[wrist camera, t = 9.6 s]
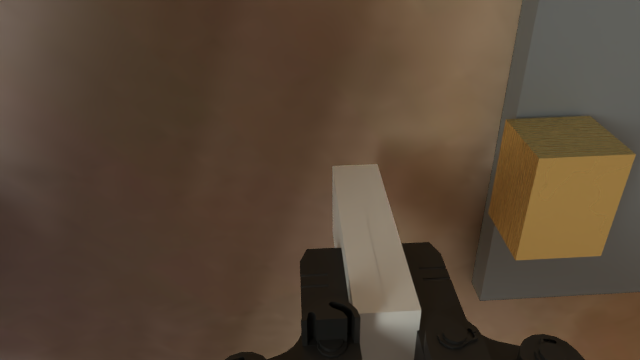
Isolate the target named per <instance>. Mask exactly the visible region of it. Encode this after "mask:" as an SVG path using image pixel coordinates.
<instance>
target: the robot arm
mask: <svg viewBox="0 0 640 360" xmlns="http://www.w3.org/2000/svg"><path fill="white" fill-rule="evenodd" d="M332 211H333V239H334V247H335V248H322V249H307V250H306V252H305V253H304V255H303V257H302V259H301V261H300V276H301V307H302V319H301V328H302V333H301V336H300V338H299V340H298V342H297V343H296V344H295V345H294V347H292V348H291V349H290V350H288V351H287V352H285V353H283V354H281V355H278V356H276V357H273V358H270V359H266V358H264V357H263V356H262V355H259V354H256V353H253V352H240V353H237V354H234V355H231V356H229V357H228V358H226V359H225V360H585V359H584V358H583V357H582V356H581V355H580V354H579V353H578V352H577V350H575V349H574V348H573V347H572V346H571V345H569V344H568V343H567V342H565V341H563V340H561V339H559V338H557V337H555V336H550V335H545V334H540V335H532V336H530V337H528V338H526V339H524V341H523V342H522V344H521V346H517V345H512V344H507V343H503V342H498V341H495V340H492V339H489V338H487V337H485V336H483V335H481V333H480V332H479V330H478V329H477V328H476V327H475V326H474V325H472V324H471V323H470V322H468V321H467V319H466V317H465V315H464V312H463V310H462V307H461V305H460V302H459V299H458V297H457V294H456V292H455V289H454V287H453V284H452V282H451V280H450V277H449V274H448V271H447V269H446V266H445V264H444V261H443V259H442V256H441V254H440V253H439V252H438V251H437V250H436V249H435V248H434V247H433V246H432V245H431V244H430V243H429V242H423V243H402V244H401V241H400V237H399V234H398V231H397V227H396V224H395V221H394V217H393V214H392V211H391V207H390V204H389V201H388V197H387V194H386V191H385V187H384V184H383V181H382V177H381V174H380V171H379V167H378V164H365V165H341V166H332Z"/></svg>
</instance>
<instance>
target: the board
mask: <svg viewBox="0 0 640 360" xmlns="http://www.w3.org/2000/svg"><path fill="white" fill-rule="evenodd" d="M573 116H591V117H592V118H593V119H594V120H596V121H597V122H598V123H599V124H600V125H602V126H603V127H604V128H605V129H606V130H608V131H609V132H610V133H611V134H612V135H614V136H615V137H616V138H617V139H618V140H620V141H621V142H622V143H623V144H624V145H626V146H627V147H628V148H629V149H630V150H632V151H633V152H634V153H635V154H636V156H635V159H634V161H633V164H632V167H631V170H630V173H629V176H628V179H627V182H626V185H625V188H624V191H623V193H622V196H621V199H620V202H619V205H618V208H617V211H616V214H615V217H614V220H613V223H612V225H611V228H610V231H609V234H608V237H607V240H606V243H605V246H604V249H603V252H602V255H601V256H591V257H572V258H553V259H534V260H515V259H514V257H513V255H512V254H511V252H510V250H509V248H508V247H507V245H506V243H505V242H504V240H503V238H502V236H501V235H500V233H499V231H498V229H497V228H496V226H495V224H494V222H493V221H492V219H491V217H490V216H489V214H488V212H489V206H490V201H491V195H492V190H493V185H494V179H495V174H496V169H497V163H498V158H499V152H500V147H501V142H502V136H503V131H504V126H505V120H506V119H524V118H548V117H573ZM472 284H473V286H474V289H475V291H476V293H477V295H478V298H479V300H480V301H486V300H504V299H522V298H540V297H558V296H576V295H594V294H612V293H630V292H640V0H523V1H522V7H521V12H520V18H519V23H518V29H517V34H516V40H515V45H514V51H513V56H512V62H511V67H510V73H509V79H508V84H507V90H506V95H505V101H504V106H503V112H502V117H501V123H500V128H499V134H498V139H497V145H496V150H495V156H494V161H493V167H492V172H491V178H490V183H489V189H488V194H487V200H486V206H485V211H484V217H483V222H482V228H481V233H480V239H479V244H478V250H477V255H476V261H475V266H474V272H473V277H472Z"/></svg>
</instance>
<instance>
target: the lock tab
mask: <svg viewBox="0 0 640 360" xmlns="http://www.w3.org/2000/svg"><path fill="white" fill-rule="evenodd" d="M635 156H636V154H635V153H634V152H633V151H632V150H630V149H629V148H628V147H627V146H626V145H624V144H623V143H622V142H621V141H620V140H618V139H617V138H616V137H615V136H614V135H612V134H611V133H610V132H609V131H608V130H606V129H605V128H604V127H603V126H602V125H600V124H599V123H598V122H597V121H596V120H594V119H593V118H592V117H591V116H573V117H548V118H524V119H506V120H505V126H504V131H503V136H502V142H501V147H500V152H499V158H498V163H497V169H496V174H495V179H494V185H493V190H492V195H491V201H490V206H489V212H488V214H489V216H490V217H491V219H492V221H493V222H494V224H495V226H496V228H497V229H498V231H499V233H500V235H501V236H502V238H503V240H504V242H505V243H506V245H507V247H508V248H509V250H510V252H511V254H512V255H513V257H514V259H515V260H534V259H553V258H572V257H591V256H601V255H602V252H603V249H604V246H605V243H606V240H607V237H608V234H609V231H610V228H611V225H612V223H613V220H614V217H615V214H616V211H617V208H618V205H619V202H620V199H621V196H622V193H623V191H624V188H625V185H626V182H627V179H628V176H629V173H630V170H631V167H632V164H633V161H634V159H635Z"/></svg>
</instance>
